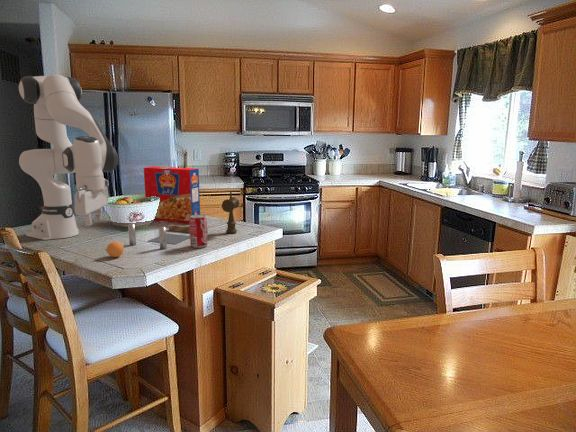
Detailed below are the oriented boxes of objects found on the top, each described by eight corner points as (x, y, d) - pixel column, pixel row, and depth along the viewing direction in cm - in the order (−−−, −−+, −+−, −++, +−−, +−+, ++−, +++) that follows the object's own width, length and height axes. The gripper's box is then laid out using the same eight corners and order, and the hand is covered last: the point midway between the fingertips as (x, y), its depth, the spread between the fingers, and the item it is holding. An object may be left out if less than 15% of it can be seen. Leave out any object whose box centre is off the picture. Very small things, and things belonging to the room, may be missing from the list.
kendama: (222, 234, 197) (221, 192, 193) (228, 230, 206) (227, 189, 202) (234, 235, 196) (233, 192, 192) (240, 230, 205) (240, 189, 201)
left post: (128, 245, 178) (126, 224, 176) (132, 243, 180) (130, 223, 178) (133, 246, 177) (131, 225, 175) (137, 244, 180) (136, 223, 178)
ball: (103, 258, 160) (102, 242, 159) (115, 253, 166) (113, 239, 165) (116, 259, 159) (115, 244, 157) (127, 255, 164) (126, 240, 163)
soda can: (203, 249, 173) (202, 218, 171) (187, 248, 175) (186, 217, 172) (210, 244, 180) (209, 214, 178) (194, 243, 182) (193, 213, 179)
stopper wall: (168, 230, 204) (168, 225, 204) (171, 229, 206) (170, 224, 205) (205, 234, 198) (205, 228, 197) (207, 233, 199) (207, 228, 199)
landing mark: (147, 241, 185) (147, 240, 184) (166, 233, 198) (166, 233, 197) (175, 244, 180) (175, 243, 180) (192, 236, 193) (192, 236, 193)
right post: (158, 249, 173) (157, 227, 171) (162, 247, 176) (161, 226, 174) (164, 249, 172) (163, 228, 170) (167, 248, 175) (166, 226, 173)
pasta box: (146, 220, 227) (143, 167, 221) (156, 217, 234) (153, 166, 228) (192, 224, 217) (189, 169, 211) (200, 221, 224) (198, 168, 219)
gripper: (87, 188, 138) (90, 229, 140) (110, 180, 158) (113, 217, 160) (67, 188, 137) (71, 229, 140) (92, 180, 157) (96, 217, 160)
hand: (93, 222), depth 150 cm, fingers open, 7 cm apart
